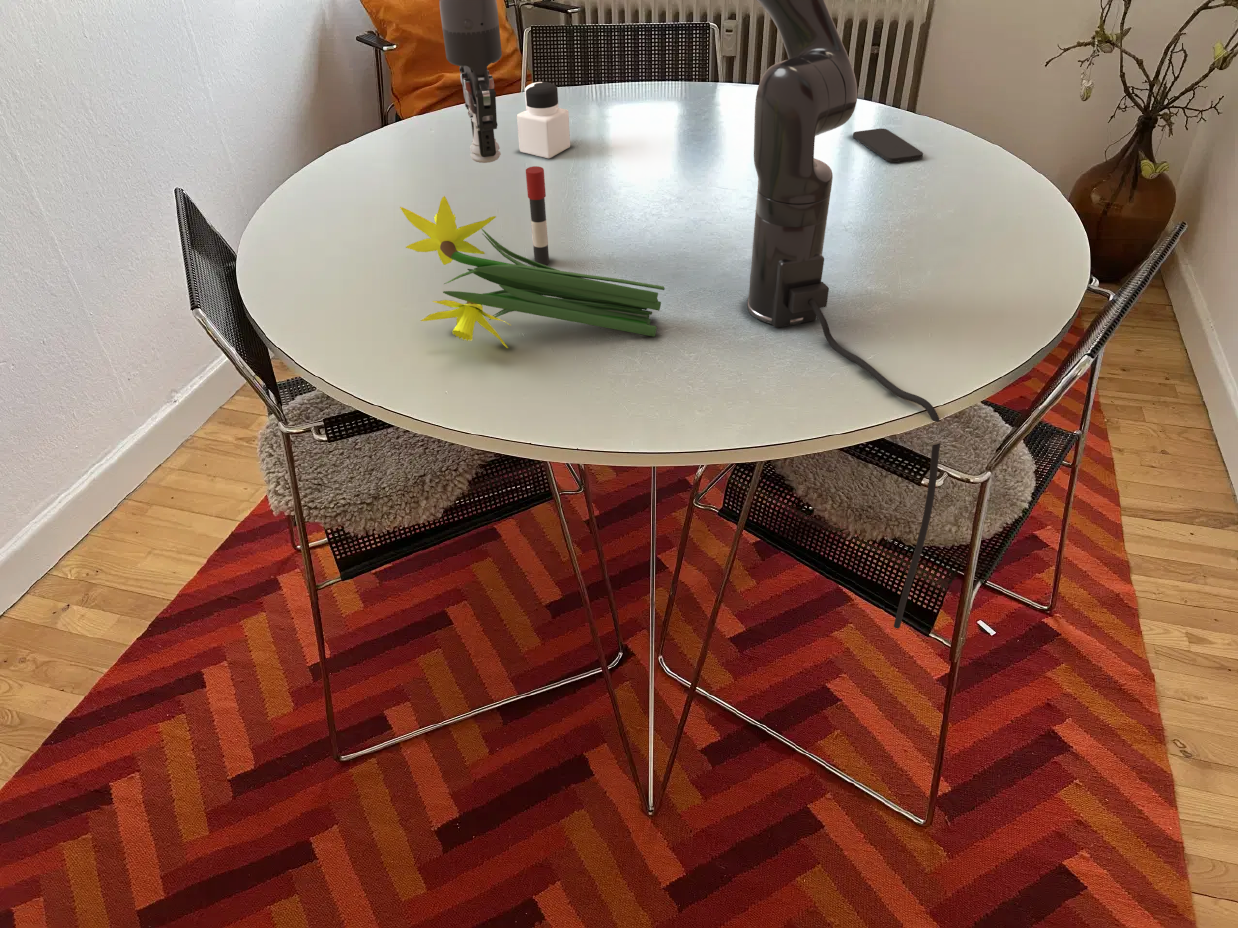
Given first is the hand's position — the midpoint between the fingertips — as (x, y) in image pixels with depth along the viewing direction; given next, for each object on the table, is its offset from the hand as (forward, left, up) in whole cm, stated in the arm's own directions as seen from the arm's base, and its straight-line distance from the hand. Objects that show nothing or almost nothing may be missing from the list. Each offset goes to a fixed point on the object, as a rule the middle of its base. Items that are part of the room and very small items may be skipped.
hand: (484, 149), depth 132 cm
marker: (-6, -6, -16) cm, 18 cm away
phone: (+17, -79, -16) cm, 82 cm away
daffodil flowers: (-25, -1, -16) cm, 30 cm away
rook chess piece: (0, 0, -1) cm, 1 cm away
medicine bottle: (+39, -18, -16) cm, 46 cm away
